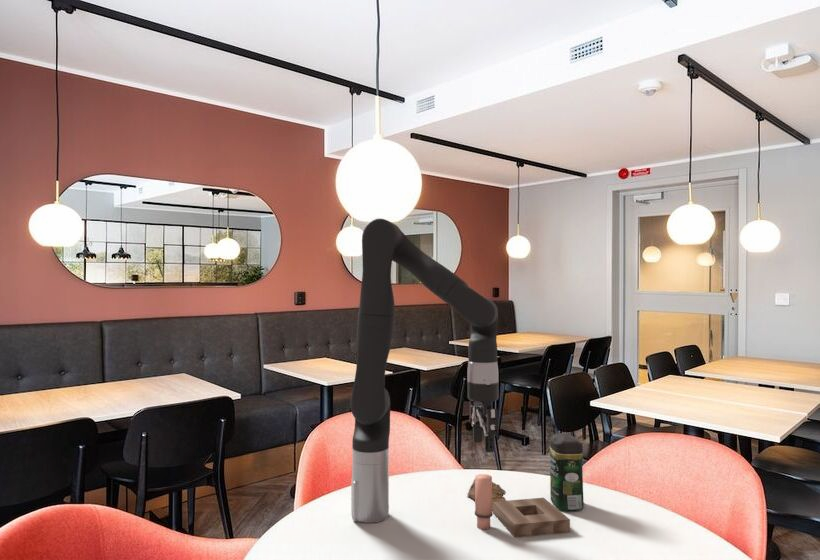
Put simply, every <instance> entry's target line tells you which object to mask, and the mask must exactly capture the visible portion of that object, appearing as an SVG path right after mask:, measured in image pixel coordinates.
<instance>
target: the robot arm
mask: <svg viewBox="0 0 820 560" xmlns="http://www.w3.org/2000/svg"><path fill="white" fill-rule="evenodd" d="M361 251H362V252H361V253H362V258H361V259H362V276H361V286H360V292H359V293H360V296H359V305H358V315H357V316H358V317H357V328H356V330H357V331H356V368H355V375H354V376H355V377H354V381H353V387H352V392H351V397H350V403H349V404H350V406H349V407H350V411H351V414H352V417H354V431H353V436H352V439H351V440H352V441H351V442H352V447H351V449H352V455H351V456H352V459H351V460H352V466H351V467H352V470H351V471H352V475H351V477H350V478H351V480H350V481H351V485H350V486H351V492H350V493H351V496H350V497H351V498H350V499H351V500H350V501H351V503H350V504H351V505H350V506H351V507H350V509H351V511H350V512H351V517H352V520H353V522H354V523H356V522H358V523H359V522H360V523H367V524H368V523H369V524H371V523H379V522H383V521H384V520H386V519H388V518H389V513H390V504H389V503H390V502H389V500H390V499H389V497H390V496H389V494H390V493H389V492H390V488H389V487H390V485H389V484H390V482H389V479H390V478H389V477H390V476H389V475H390V474H389V472H390V471H389V470H390V469H389V467H390V465H389V463H390V461H389V457H390V456H389V452H390V447H389V446H390V445H389V444H390V434H391V397H390V393H389V391H388V390H387V389H386V388H385V384H386V381H385V380H386V367H387V362H388V359H389V358H388V357H389V354H390V351H391V346H392V343H393V336H394V330H395V329H394V328H395V319H396V318H395V315H396V314H395V313H396V310H395V309H396V308H395V307H396V306H395V298H394V291H393V285H392V274H391V273H392V264H393V262H394V263H396V264H398V265H399V266H401V267H403V268H404V269H405V270H406V271H408V272H409V273H410V274H411V275H413V276H414V277H415V279H417V280H418V281H419V282H420V283H421V285H423V286H424V287H425V288H427V289H428V290H429V291H430V292H431V293H433V295H435V296H436V297H438V298H439V299H440V300H441V301H443V302H445V303H446V304H447V305H449V306H450V307H452V308H453V309H454V310H455V311H456V312H457V313H458V314H459V315H460V316H462V318H464V319H465V321H467V322H468V323H470V338H469V340H468V346H467V347H468V349H467V350H468V354H467V355H468V357H467V358H468V359H467V360H468V361H467V370H466V371H467V372H466V373H467V374H466V375H467V379H466V380H467V399H468V400H469V419H468V421H469V423H471V427H472V441H473V443H475V444H476V443H482V442H483V435H484V444H483V445H484V452H486V453H494V451H495V437H496V436H499V410H498V408H493V404H492V403H493V402H496V401H498V400H499V398H500V397H499V395H500V393H499V390H500V389H499V387H500V386H499V383H500V382H499V366H498V342H497V336H498V325H499V324H498V323H499V311H498V307H497V305H496V303H495V301H493V300H492V299H489V298H487V297H485V296H482V295H481V294H479V292H477V291H475V290H474V289H473V288H472V287H470V286H469V285H468V283H466V281H464V279H462V278H461V277H459V276H458V275H457V274H455V272H453V271H452V270H450V269H448V268H447V267H445V266H444V265H442V264H441V263H440V262H438V261H436V260H435V259H433V258H432V257H431V256H429V255H428V254H426V252H424V251H422V250H421V249H420V248H419V247H418V246H416V244H414V242H412V241H411V240H410V239H409V237H407V236H406V235H405V233H404V232H403V231H402V230H401V229H400V226H399V227H398V225H397V224H395V223H393V222H392V221H389V220H388V219H385V218H378V217H377V218H374V219H371V220H370V221H369V222H367V224H366V225H365V227H364V229H363V230H362V236H361Z"/></svg>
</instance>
